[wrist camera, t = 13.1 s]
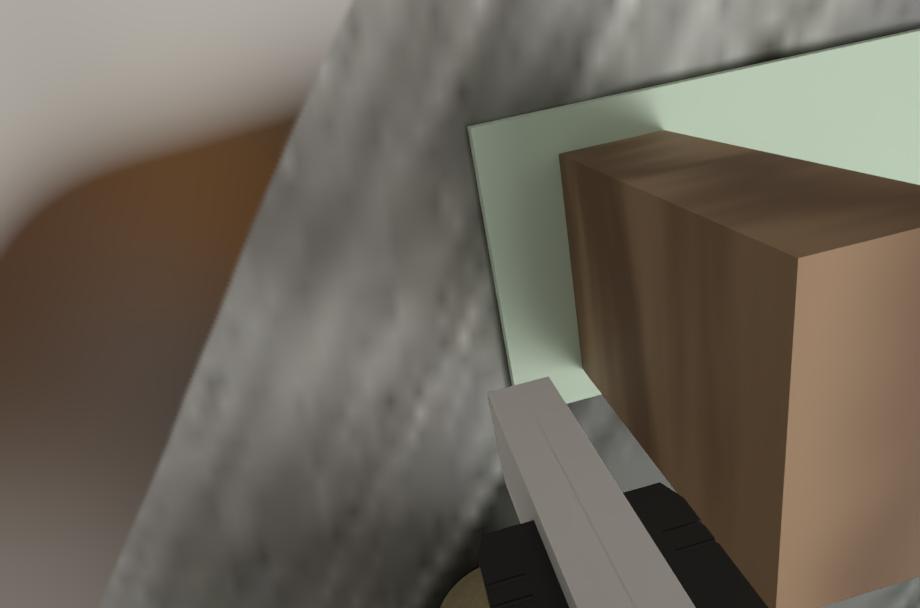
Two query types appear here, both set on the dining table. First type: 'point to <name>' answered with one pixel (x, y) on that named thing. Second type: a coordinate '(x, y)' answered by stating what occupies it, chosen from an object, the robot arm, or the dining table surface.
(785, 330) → the walnut slab
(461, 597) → the plant pot
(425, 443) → the dining table surface
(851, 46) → the mat
